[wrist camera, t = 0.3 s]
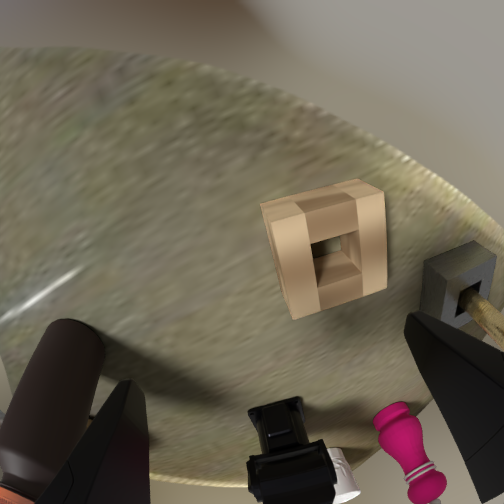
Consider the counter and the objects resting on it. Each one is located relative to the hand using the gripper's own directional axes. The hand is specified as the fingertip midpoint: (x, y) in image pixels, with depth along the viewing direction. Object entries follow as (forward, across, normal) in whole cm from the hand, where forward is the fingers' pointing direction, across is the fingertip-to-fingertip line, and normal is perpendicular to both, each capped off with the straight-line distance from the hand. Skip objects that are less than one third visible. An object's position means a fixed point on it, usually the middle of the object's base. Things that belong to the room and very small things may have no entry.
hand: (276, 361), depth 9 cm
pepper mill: (+13, -18, +39) cm, 45 cm away
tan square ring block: (+15, -6, +4) cm, 17 cm away
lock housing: (+14, -22, +13) cm, 29 cm away
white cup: (+13, -6, +48) cm, 50 cm away
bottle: (+15, +18, +10) cm, 26 cm away
